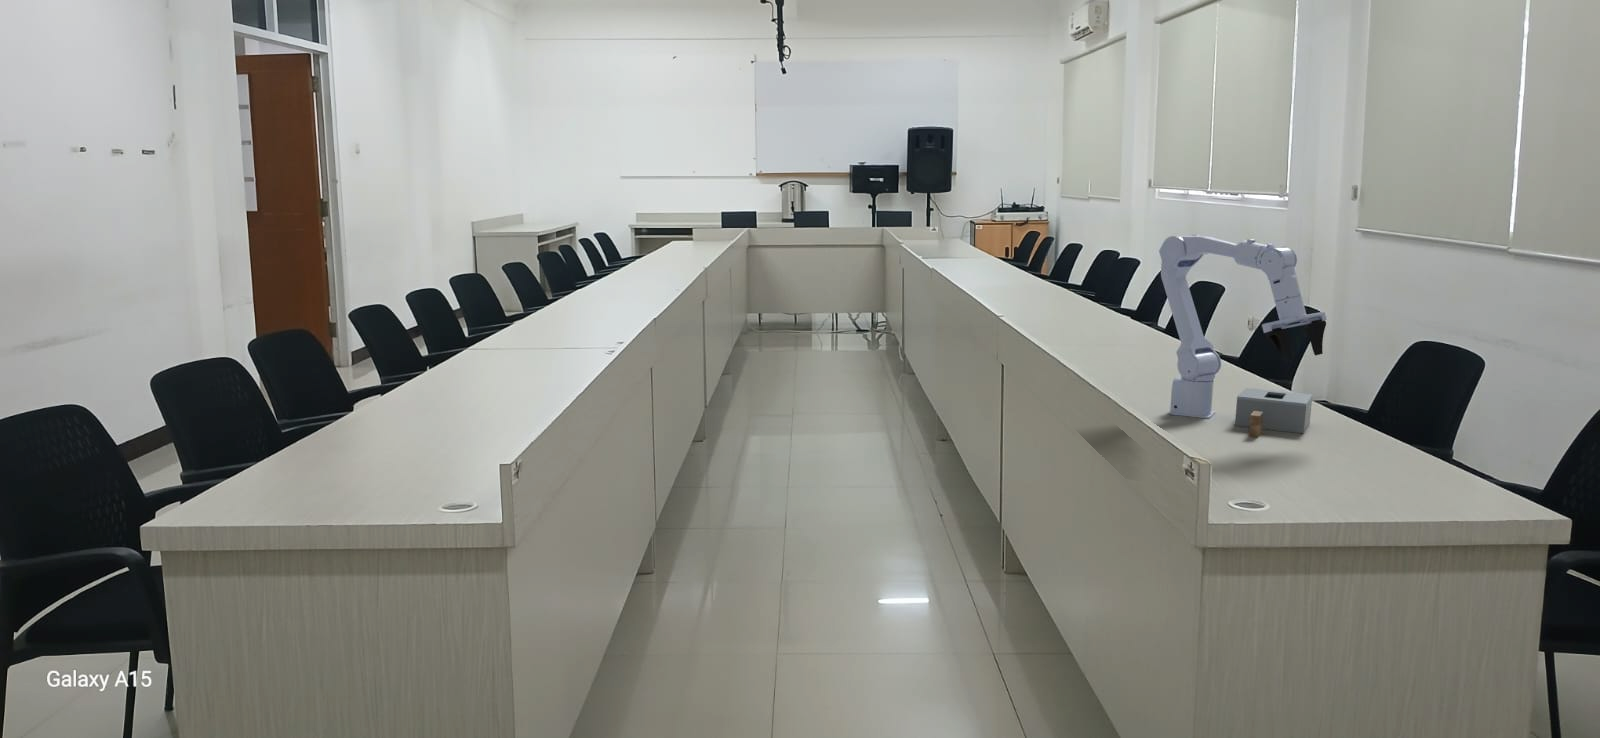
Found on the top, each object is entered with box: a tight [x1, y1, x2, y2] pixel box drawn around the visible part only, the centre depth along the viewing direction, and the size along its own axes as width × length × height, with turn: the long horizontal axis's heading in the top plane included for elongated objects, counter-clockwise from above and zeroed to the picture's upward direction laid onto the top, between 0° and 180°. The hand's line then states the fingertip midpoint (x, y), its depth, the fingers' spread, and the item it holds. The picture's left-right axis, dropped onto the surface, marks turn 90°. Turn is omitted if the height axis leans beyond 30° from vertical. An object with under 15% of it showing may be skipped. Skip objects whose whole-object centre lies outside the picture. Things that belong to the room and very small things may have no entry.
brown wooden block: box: [1248, 411, 1263, 438], centre depth 264 cm, size 2×5×5 cm, turn 151°
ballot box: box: [1234, 387, 1313, 434], centre depth 274 cm, size 15×12×7 cm
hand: (1303, 357), depth 260 cm, fingers open, 7 cm apart
